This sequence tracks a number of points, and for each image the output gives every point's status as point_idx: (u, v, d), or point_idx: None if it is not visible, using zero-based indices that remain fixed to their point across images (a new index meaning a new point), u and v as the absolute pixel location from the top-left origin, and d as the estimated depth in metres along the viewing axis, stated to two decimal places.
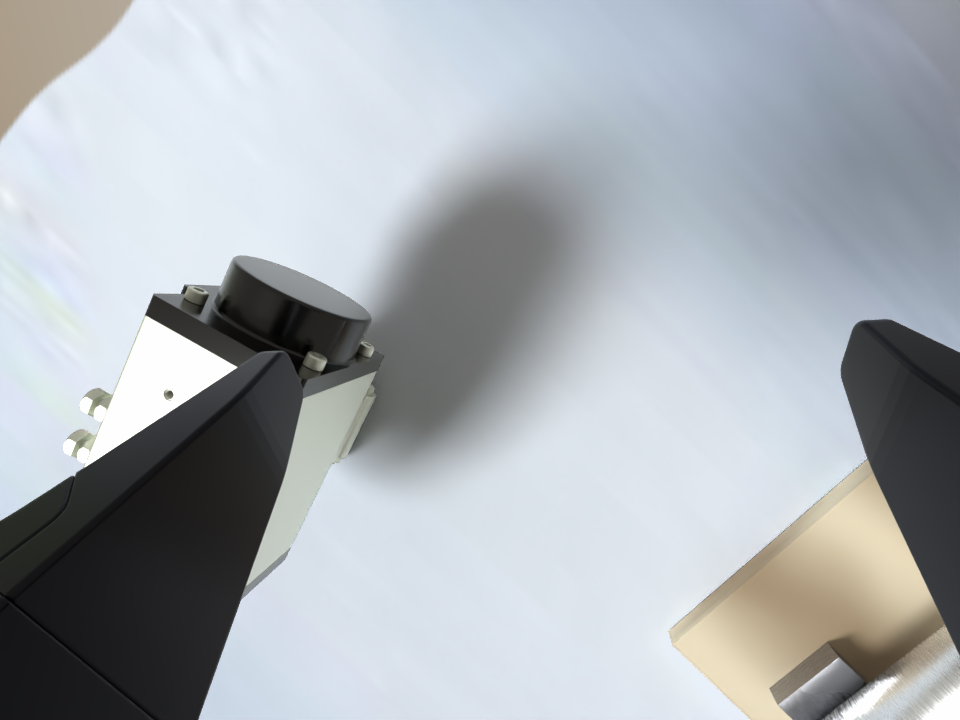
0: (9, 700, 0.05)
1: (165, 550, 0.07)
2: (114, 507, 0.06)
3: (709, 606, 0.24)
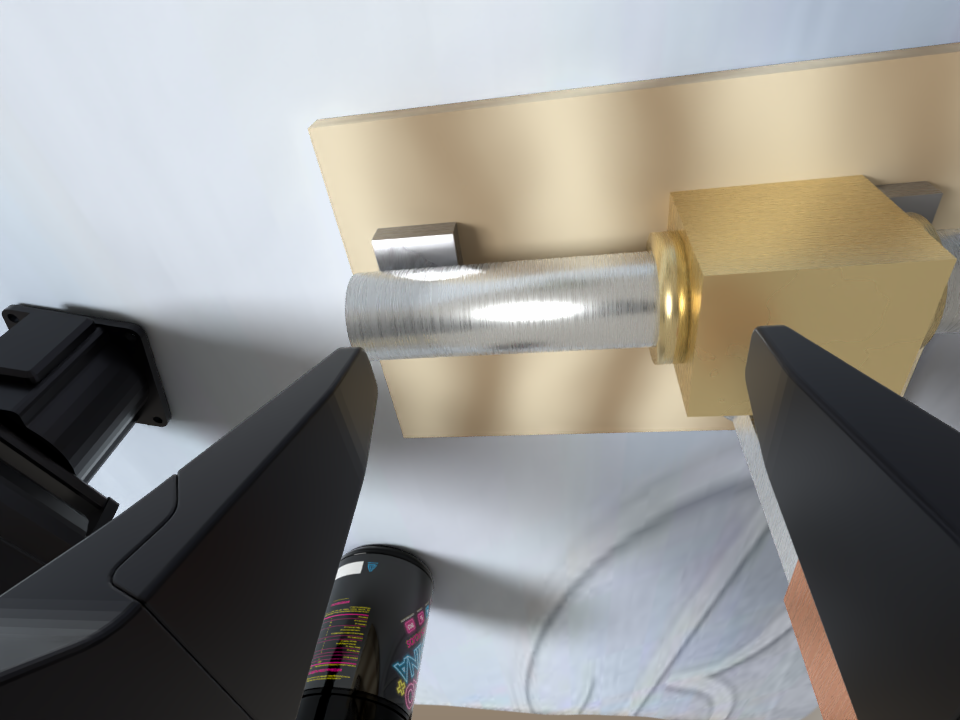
0: (143, 706, 0.05)
1: (269, 551, 0.07)
2: (227, 507, 0.06)
3: (371, 117, 0.19)
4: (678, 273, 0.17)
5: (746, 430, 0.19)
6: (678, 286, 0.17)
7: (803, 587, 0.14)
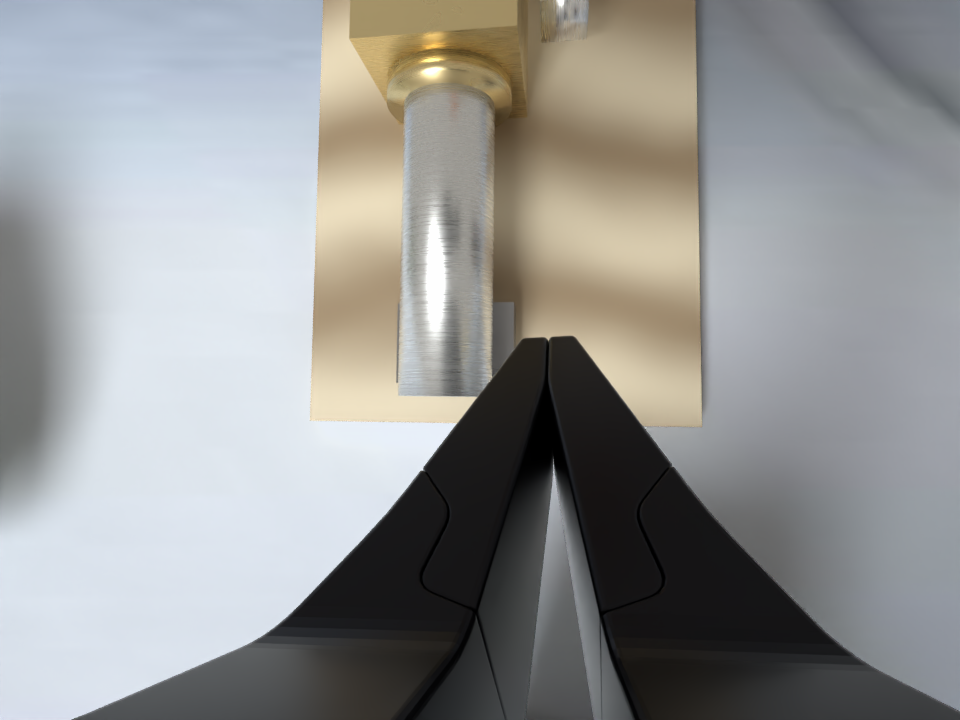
0: None
1: (519, 553, 0.06)
2: (504, 505, 0.06)
3: None
4: (391, 76, 0.19)
5: None
6: (397, 71, 0.19)
7: None
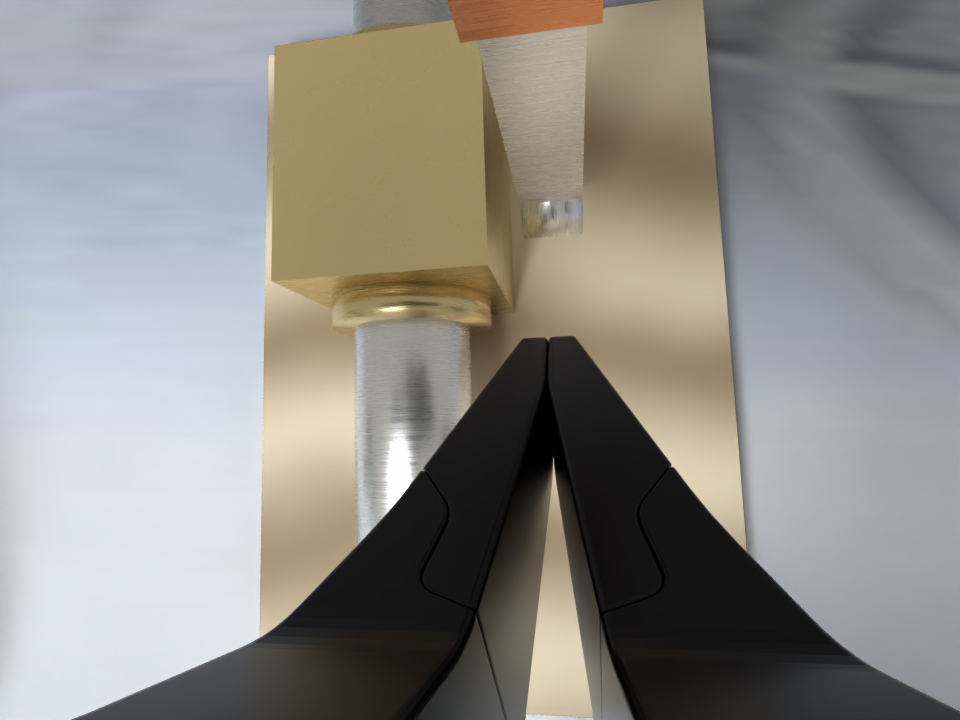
0: None
1: (520, 553, 0.06)
2: (504, 505, 0.06)
3: None
4: (334, 305, 0.15)
5: (541, 179, 0.13)
6: (340, 304, 0.15)
7: (477, 10, 0.08)
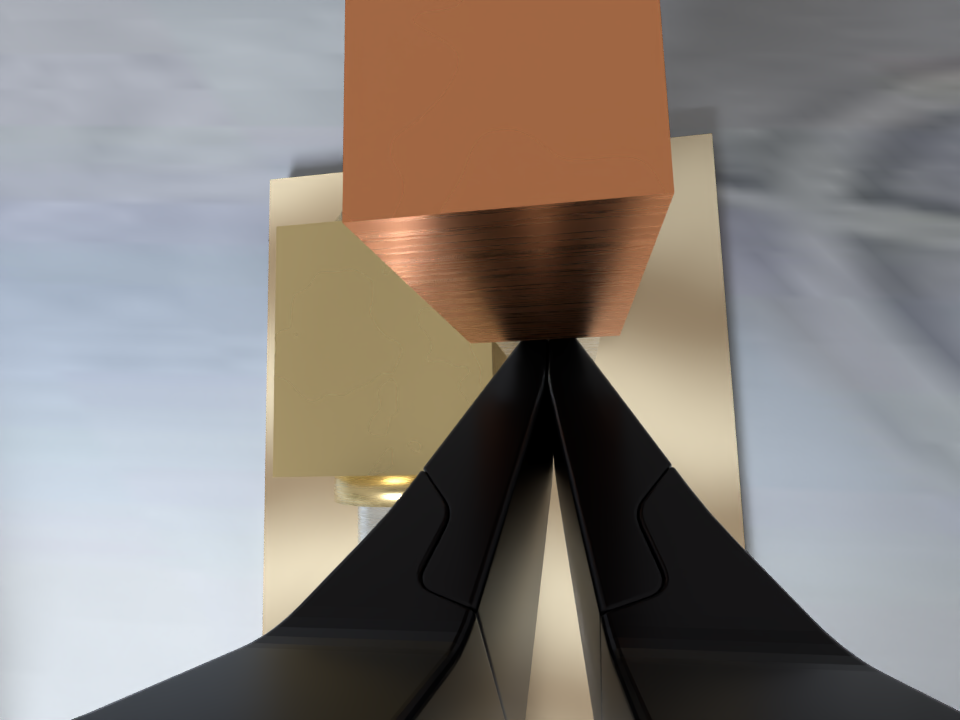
0: None
1: (520, 553, 0.06)
2: (504, 505, 0.06)
3: None
4: (337, 483, 0.15)
5: None
6: (342, 485, 0.14)
7: (489, 334, 0.07)
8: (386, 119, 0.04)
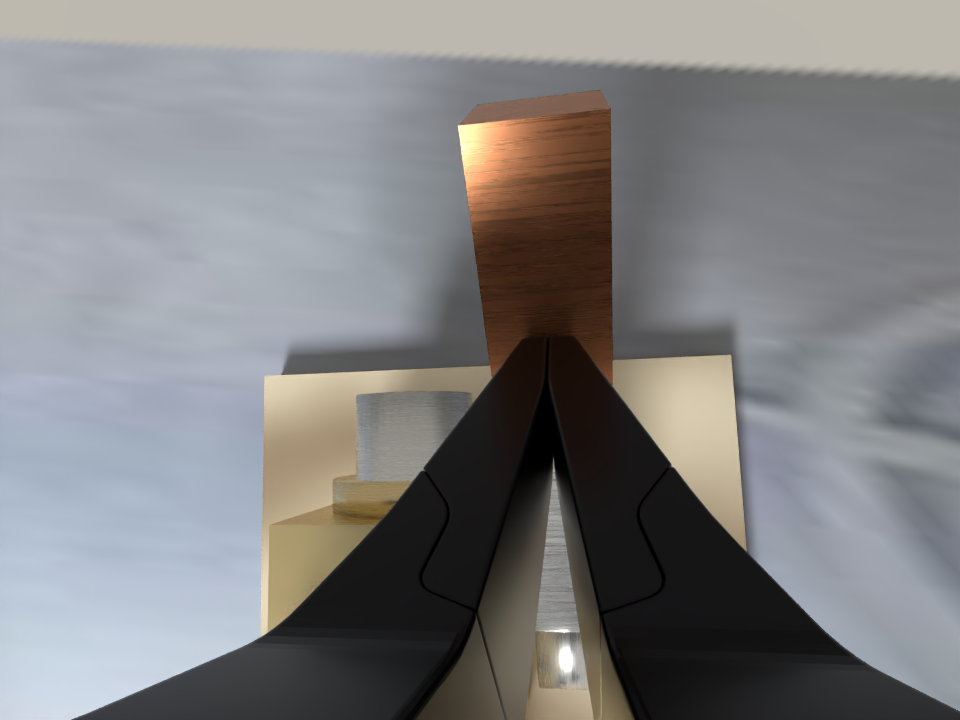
0: None
1: (520, 553, 0.06)
2: (504, 505, 0.06)
3: None
4: None
5: (559, 592, 0.13)
6: None
7: None
8: (484, 115, 0.08)
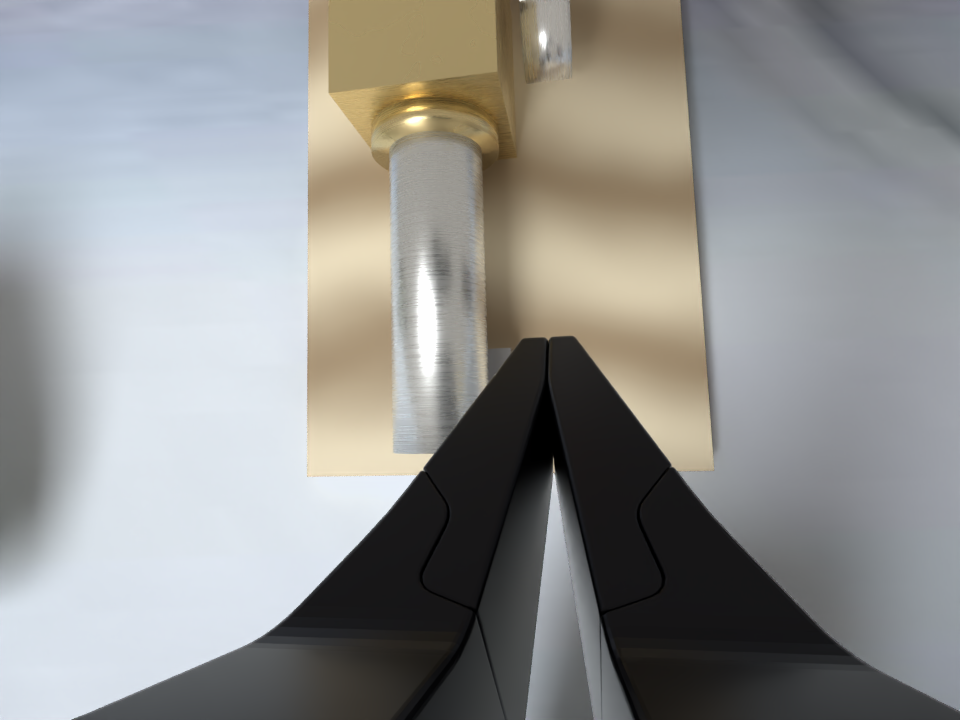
0: None
1: (520, 553, 0.06)
2: (504, 505, 0.06)
3: None
4: (374, 126, 0.19)
5: None
6: (379, 122, 0.19)
7: None
8: None
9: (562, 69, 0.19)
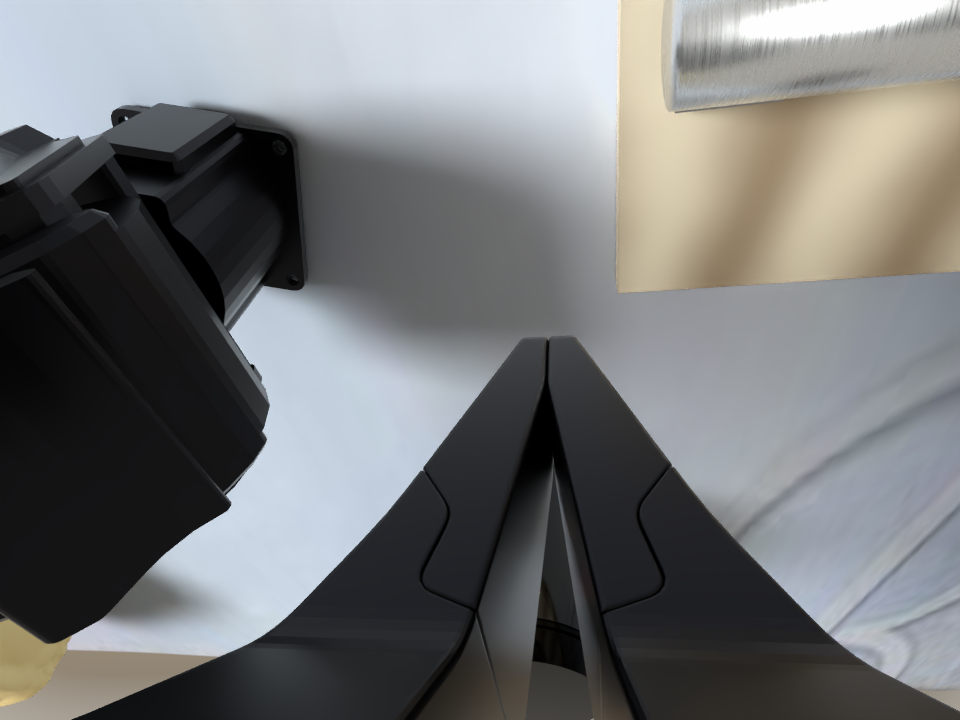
0: None
1: (520, 553, 0.06)
2: (504, 505, 0.06)
3: None
4: None
5: None
6: None
7: None
8: None
9: None
